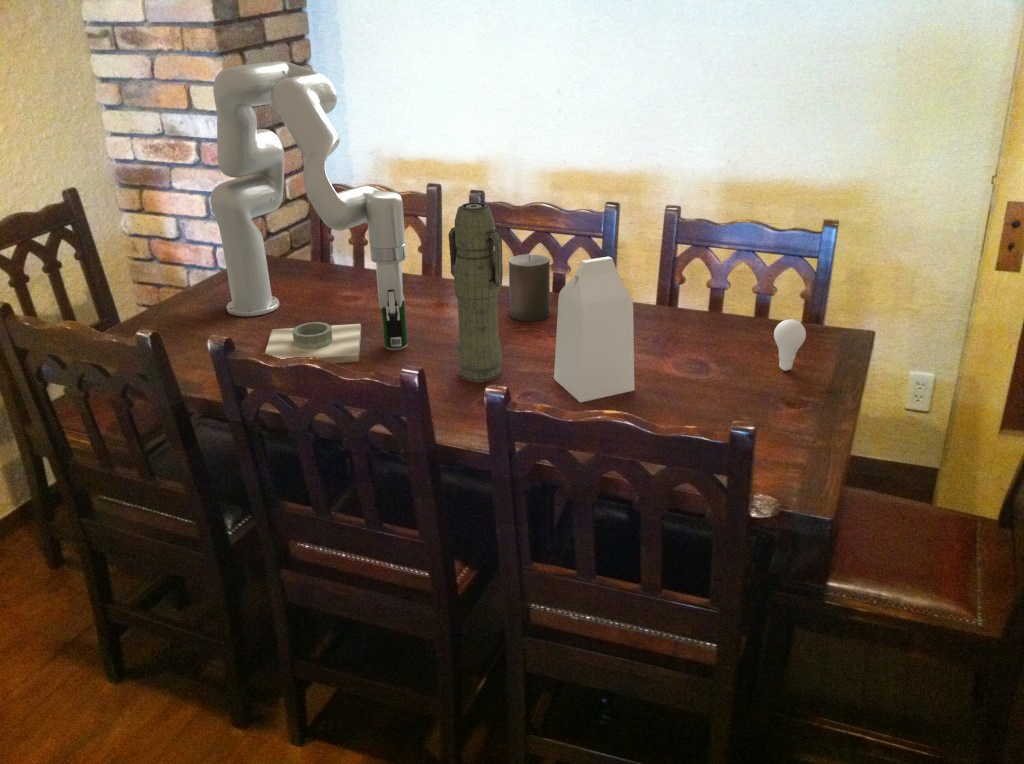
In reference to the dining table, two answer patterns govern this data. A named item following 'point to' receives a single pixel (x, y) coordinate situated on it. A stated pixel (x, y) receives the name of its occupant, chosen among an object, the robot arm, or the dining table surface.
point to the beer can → (402, 342)
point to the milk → (595, 333)
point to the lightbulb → (788, 341)
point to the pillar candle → (529, 287)
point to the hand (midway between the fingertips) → (394, 330)
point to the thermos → (477, 290)
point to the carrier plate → (327, 353)
